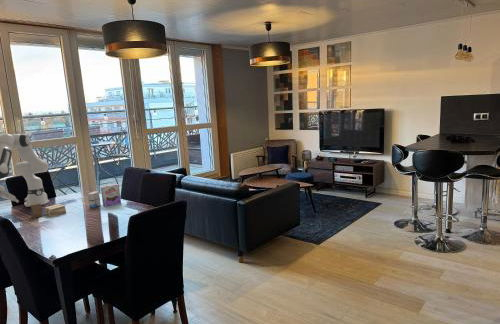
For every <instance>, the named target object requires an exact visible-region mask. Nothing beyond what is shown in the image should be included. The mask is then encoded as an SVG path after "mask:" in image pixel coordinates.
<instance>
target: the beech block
mask: <svg viewBox="0 0 500 324" xmlns="http://www.w3.org/2000/svg"><path fill="white" fill-rule="evenodd" d="M44 211H45V215H47V216H49V217H55V216H60V215H62V214H63V215H64V214H66V213H67V210H66V205H64V204H61V203H57V204H54V205H49V206H46V207H44Z"/></svg>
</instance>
